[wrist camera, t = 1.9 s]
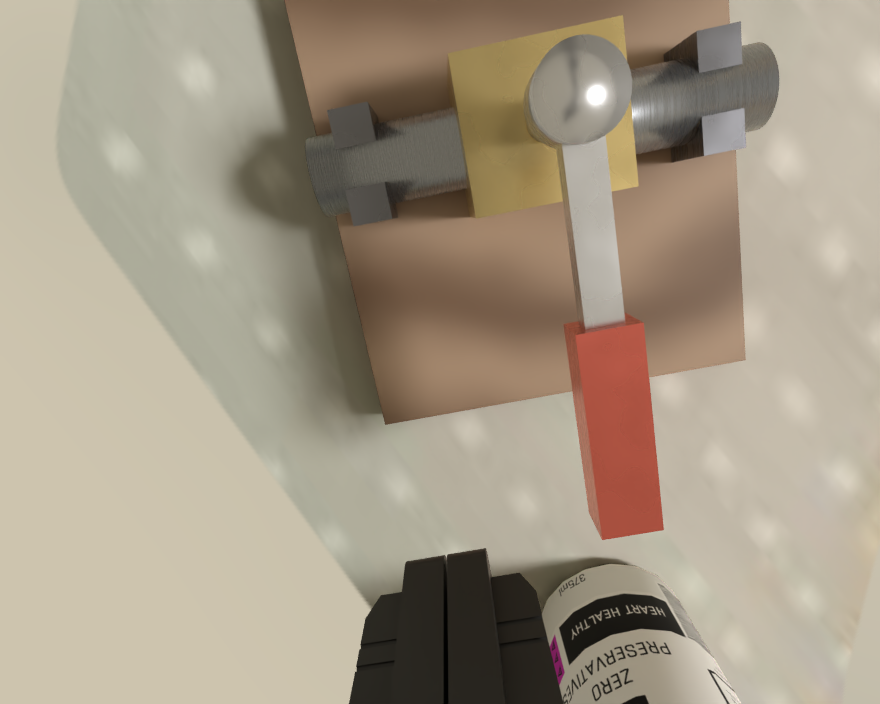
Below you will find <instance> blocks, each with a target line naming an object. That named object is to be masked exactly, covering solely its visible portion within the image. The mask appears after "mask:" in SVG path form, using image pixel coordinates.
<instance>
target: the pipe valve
mask: <svg viewBox="0 0 880 704" xmlns="http://www.w3.org/2000/svg"><path fill="white" fill-rule="evenodd" d="M582 34H590V35H596V36H599V37H602V38H604V39H606V40H608V41H610V42H611V43H613V44H614V45H615V46H616V47H617V48H618V49H619V50H620V51H621V52H622V54H623V55H624V57H625V58H626V60H627V54H626V43H625V32H624V22H623V15H621V16H616V17H612V18H607V19H603V20H598V21H594V22H589V23H584V24H580V25H575V26H571V27H566V28H561V29H557V30H552V31H548V32H543V33H538V34H534V35H529V36H525V37H520V38H516V39H511V40H506V41H502V42H497V43H493V44H488V45H483V46H479V47H474V48H470V49H465V50H461V51H456V52H451V53H448V61H447V89H448V95H449V100H450V106H451V108H447V109H442V110H437V111H432V112H428V113H423V114H418V115H414V116H409V117H404V118H399V119H395V120H390V121H385V122H381V123H379V122H378V117H377V114H376V113H375V111H374V110H373V109H372V107H371V106H370V104H369V103H368V102H363V103H358V104H354V105H349V106H344V107H340V108H335V109H330V110H327V113H328V118H329V122H330V126H331V131H332V133H329V134H324V135H319V136H315V137H310V138H307V139H306V143H305V151H306V160H307V166H308V170H309V175H310V179H311V182H312V186H313V189H314V192H315V195H316V198H317V200H318V203H319V205H320V207H321V209H322V211H323V213H324V214H325V215H326V216H327V217H331V216H335V215H340V214H345V213H351V217H352V222H353V226H360V225H365V224H370V223H375V222H380V221H385V220H390V219H395V218H398V213H397V208H396V203H399V202H404V201H409V200H414V199H419V198H424V197H429V196H434V195H439V194H444V193H449V192H454V191H459V190H463V189H465V192H466V198H467V204H468V209H469V215H470V217H471V218H475V219H477V218H482V217H487V216H492V215H497V214H502V213H507V212H512V211H517V210H522V209H527V208H532V207H537V206H542V205H547V204H552V203H557V202H562V201H563V199H562V191H561V183H560V175H559V168H558V160H557V152H556V149H554V148H551V147H549V146H547V145H545V144H543V143H542V142H541V141H539V140H538V139H537V138H536V137H535V136H534V135H533V133H532V132H531V130H530V129H529V127H528V125H527V122H526V119H525V115H524V108H523V101H524V93H525V90H526V86H527V84H528V81H529V79H530V78H531V76H532V74H533V73H534V71H535V70H536V68H537V67H538V65H539V64H540V62H541V60H542V59H543V58H544V56H545V55H546V54H547V53H548V51H549V50H550V49H551V48H553V47H554V46H555V45H556V44H558V43H559V42H561V41H562V40H564V39H567V38H569V37H572V36H576V35H582ZM663 55H664V62H663V63H659V64H654V65H649V66H645V67H640V68H635V69H630V71H631V76H632V94H631V99H630V103H629V106H628V108H627V110H626V113H625V115H624V116H623V118H622V119H621V121H620V122H619V123H618V125H617V126H616V127H615V128H614V129H613V130H612V131H610V132H609V133H608V134H606V144H607V154H608V163H609V173H610V182H611V191H617V190H622V189H627V188H632V187H637V186H639V183H638V173H637V162H636V154H641V153H646V152H651V151H655V150H660V149H665V148H670V147H671V159H672V163H673V162H678V161H683V160H688V159H693V158H698V157H703V156H708V155H713V154H717V153H722V152H727V151H731V150H736V149H741V148H746V137H745V132H749V131H754V130H758V129H760V128H761V127H763V126H764V125H765V124H766V122H767V121H768V120H769V118H770V117H771V115H772V113H773V110H774V108H775V105H776V101H777V97H778V91H779V71H778V65H777V61H776V58H775V55H774V53H773V52H772V50H771V49H770V48H769V46H767V45H766V44H764V43H760V42H758V43H753V44H748V45H744V46H742V42H741V21H740V22H736V23H731V24H726V25H722V26H717V27H712V28H708V29H703V30H698V31H696V32H694V33H693V34H691V35H690V36H689V37H687V38H686V39H684V40H683V41H682V42H680V43H679V44H677V45H676V46H675V47H673V48H672V49H670V50H669V51H668V52H666V53H665V54H663Z"/></svg>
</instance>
